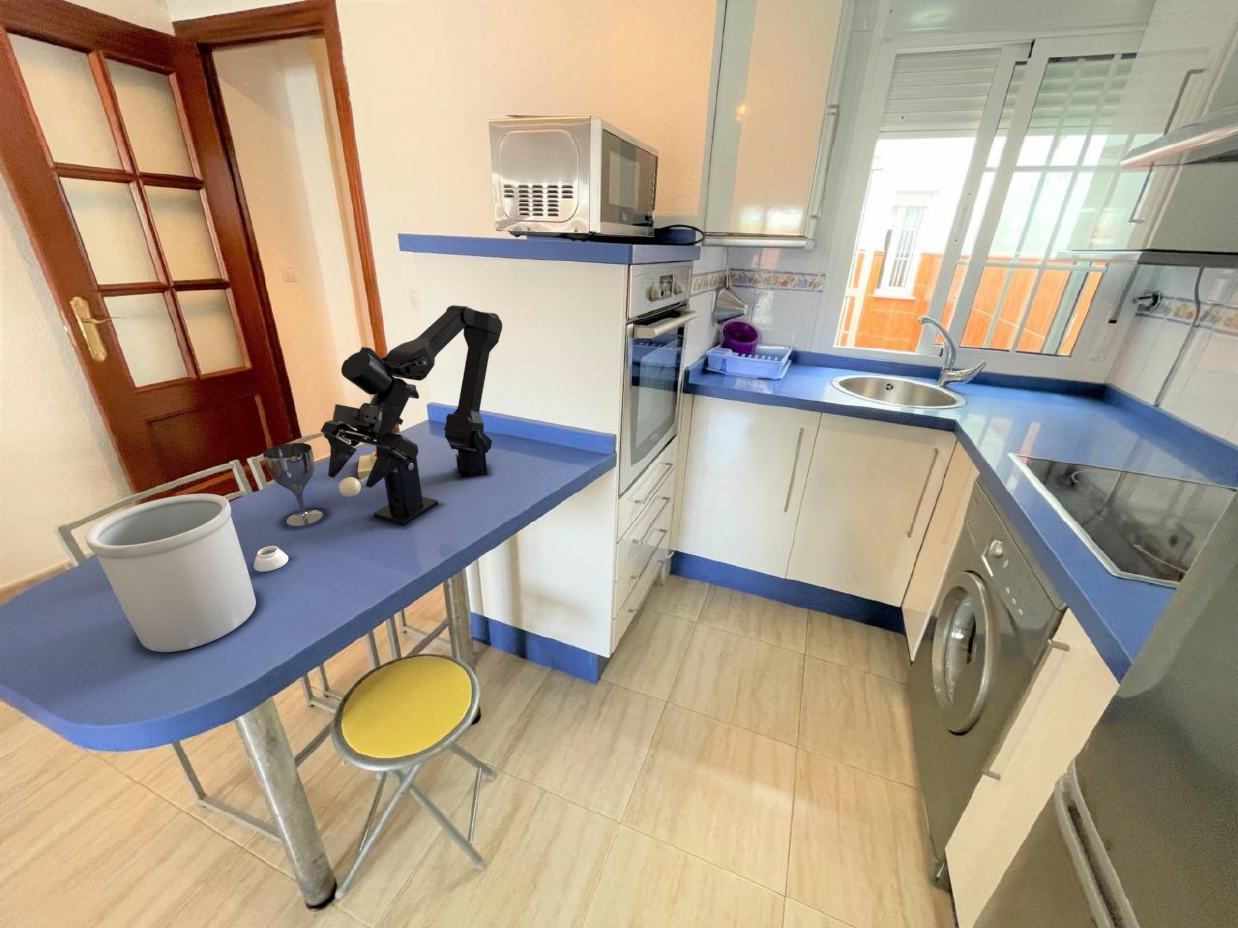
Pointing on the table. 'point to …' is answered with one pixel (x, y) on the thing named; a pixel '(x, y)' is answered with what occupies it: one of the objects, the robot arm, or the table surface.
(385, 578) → the table surface
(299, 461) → the wine glass
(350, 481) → the lever
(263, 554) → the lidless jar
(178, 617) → the utensil holder
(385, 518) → the bracket
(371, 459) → the button box
